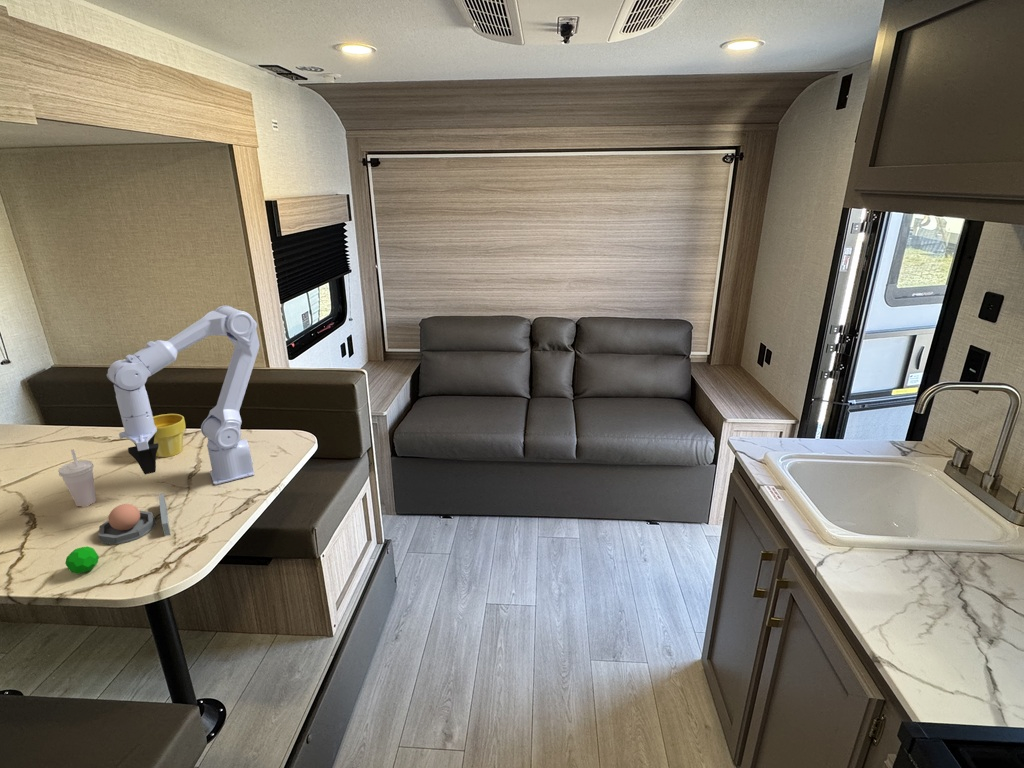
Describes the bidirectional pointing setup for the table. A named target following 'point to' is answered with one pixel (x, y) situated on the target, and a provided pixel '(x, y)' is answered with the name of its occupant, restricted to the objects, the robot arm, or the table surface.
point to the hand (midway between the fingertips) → (149, 465)
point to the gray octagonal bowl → (118, 537)
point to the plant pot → (169, 434)
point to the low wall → (164, 515)
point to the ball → (124, 517)
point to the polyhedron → (82, 560)
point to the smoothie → (79, 480)
